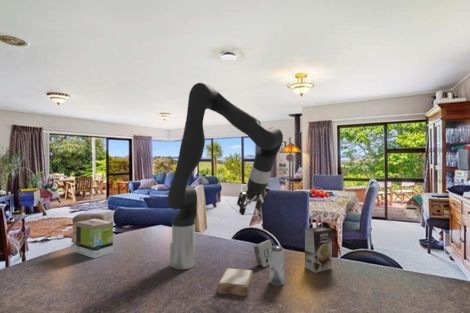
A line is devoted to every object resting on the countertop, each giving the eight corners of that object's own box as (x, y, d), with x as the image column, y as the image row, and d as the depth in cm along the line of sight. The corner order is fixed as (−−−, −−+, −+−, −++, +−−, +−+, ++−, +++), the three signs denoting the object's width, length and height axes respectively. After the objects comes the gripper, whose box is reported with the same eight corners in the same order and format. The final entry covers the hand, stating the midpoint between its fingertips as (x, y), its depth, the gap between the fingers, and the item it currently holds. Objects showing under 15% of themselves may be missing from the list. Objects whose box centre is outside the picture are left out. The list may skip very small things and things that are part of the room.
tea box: (113, 252, 130) (113, 221, 130) (93, 259, 121) (93, 226, 121) (95, 246, 138) (95, 217, 138) (75, 252, 129) (75, 221, 129)
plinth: (217, 292, 91) (217, 283, 91) (226, 276, 104) (226, 267, 104) (247, 296, 89) (247, 285, 89) (252, 278, 102) (252, 269, 102)
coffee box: (315, 273, 107) (315, 232, 107) (304, 267, 112) (304, 228, 112) (332, 269, 111) (332, 229, 111) (320, 263, 117) (320, 225, 116)
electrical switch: (264, 268, 112) (262, 245, 112) (253, 266, 115) (252, 243, 115) (275, 261, 119) (274, 239, 120) (265, 259, 122) (264, 238, 123)
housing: (269, 285, 97) (269, 249, 97) (270, 278, 102) (270, 244, 102) (283, 286, 96) (284, 250, 96) (284, 280, 101) (284, 245, 101)
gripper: (266, 170, 111) (256, 202, 118) (238, 175, 103) (230, 210, 110) (278, 179, 106) (268, 212, 113) (251, 186, 98) (241, 221, 105)
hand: (249, 211), depth 111 cm, fingers open, 8 cm apart
